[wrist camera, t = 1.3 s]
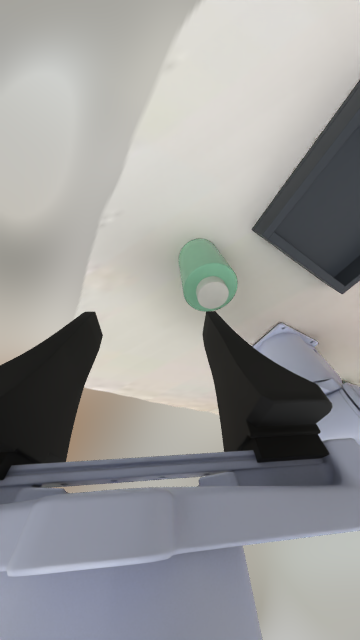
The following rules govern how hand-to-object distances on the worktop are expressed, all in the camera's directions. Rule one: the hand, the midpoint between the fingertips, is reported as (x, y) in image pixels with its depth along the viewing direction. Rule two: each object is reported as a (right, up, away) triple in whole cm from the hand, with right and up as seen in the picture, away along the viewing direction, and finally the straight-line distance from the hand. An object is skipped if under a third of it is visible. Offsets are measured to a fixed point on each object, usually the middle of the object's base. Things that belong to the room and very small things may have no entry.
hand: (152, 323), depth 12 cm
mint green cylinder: (+4, +7, +8) cm, 11 cm away
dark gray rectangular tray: (+18, +11, +6) cm, 22 cm away
